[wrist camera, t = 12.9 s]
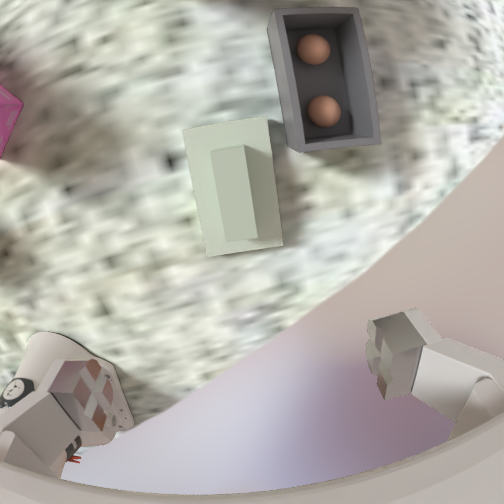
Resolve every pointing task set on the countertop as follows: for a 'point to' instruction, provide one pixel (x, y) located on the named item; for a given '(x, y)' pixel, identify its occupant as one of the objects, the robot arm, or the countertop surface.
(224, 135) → the lid
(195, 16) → the countertop surface
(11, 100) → the gum box
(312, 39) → the ball
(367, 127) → the box
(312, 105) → the ball
